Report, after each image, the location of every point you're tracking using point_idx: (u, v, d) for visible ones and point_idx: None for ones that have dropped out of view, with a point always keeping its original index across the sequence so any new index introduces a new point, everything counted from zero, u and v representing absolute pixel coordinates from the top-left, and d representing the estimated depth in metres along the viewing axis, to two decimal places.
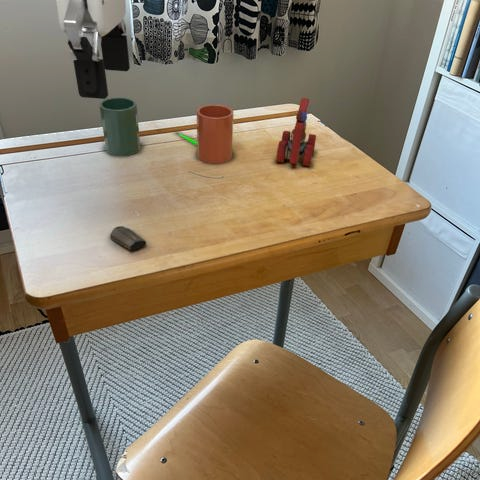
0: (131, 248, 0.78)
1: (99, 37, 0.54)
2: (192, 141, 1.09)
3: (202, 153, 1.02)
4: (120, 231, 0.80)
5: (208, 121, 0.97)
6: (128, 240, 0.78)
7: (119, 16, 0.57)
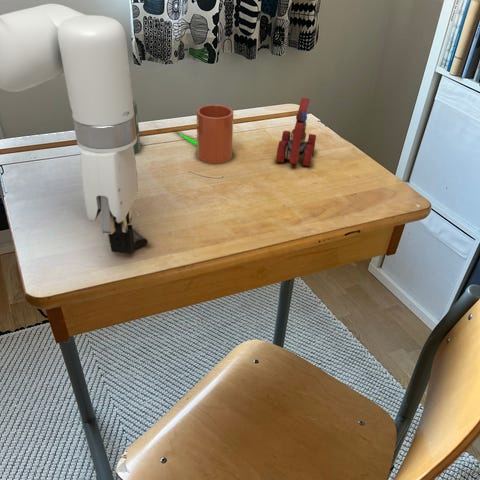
0: None
1: (124, 218, 0.72)
2: (192, 141, 1.09)
3: (202, 153, 1.02)
4: None
5: (208, 121, 0.97)
6: None
7: (133, 198, 0.73)
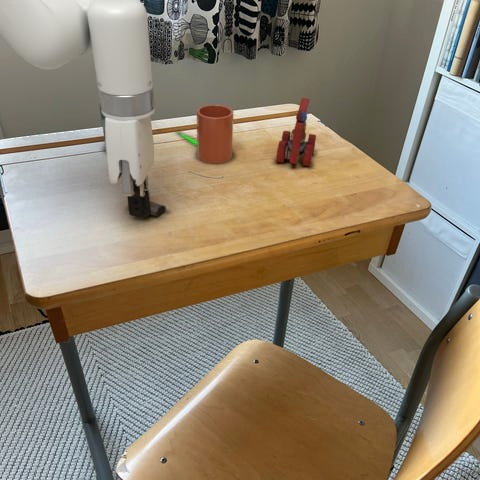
0: (157, 213, 0.85)
1: (142, 183, 0.79)
2: (192, 141, 1.09)
3: (202, 153, 1.02)
4: None
5: (208, 121, 0.97)
6: (151, 207, 0.86)
7: (150, 165, 0.80)
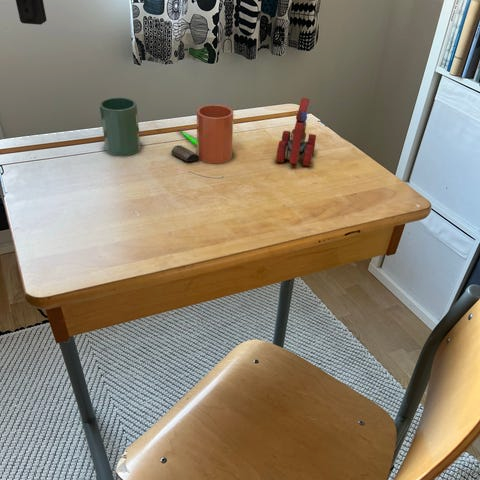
0: (187, 159, 1.00)
1: None
2: (192, 140, 1.09)
3: (202, 153, 1.02)
4: (179, 148, 1.03)
5: (208, 121, 0.97)
6: (185, 154, 1.01)
7: None
